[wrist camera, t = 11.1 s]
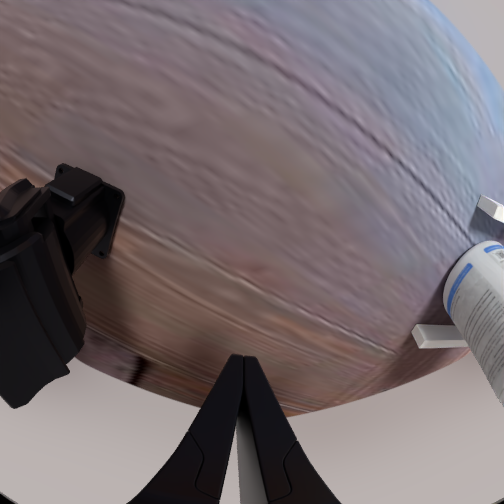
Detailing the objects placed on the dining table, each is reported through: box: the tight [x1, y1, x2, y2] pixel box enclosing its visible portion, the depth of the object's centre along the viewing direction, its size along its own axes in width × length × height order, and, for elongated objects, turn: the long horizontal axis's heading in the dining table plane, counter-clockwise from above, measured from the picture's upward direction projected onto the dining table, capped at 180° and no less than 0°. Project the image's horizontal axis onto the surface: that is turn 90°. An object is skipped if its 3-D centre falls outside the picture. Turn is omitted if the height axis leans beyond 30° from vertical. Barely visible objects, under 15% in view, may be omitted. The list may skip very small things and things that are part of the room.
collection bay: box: [411, 194, 504, 348], centre depth 22 cm, size 12×16×2 cm
